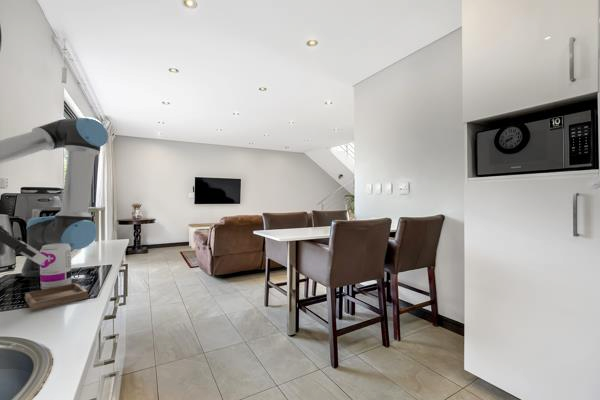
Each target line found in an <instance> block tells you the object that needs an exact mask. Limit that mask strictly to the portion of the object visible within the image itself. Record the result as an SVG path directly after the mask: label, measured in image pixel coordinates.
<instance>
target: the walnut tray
mask: <svg viewBox="0 0 600 400" xmlns="http://www.w3.org/2000/svg"><path fill="white" fill-rule="evenodd" d="M88 293H89V292H88V290H87V289H85V288H84V287H83V286H82V285H80V284H79V283H77V282H73V283H72V282H71V284H67V285H63V286H58V287H53V288H48V289H38V290H33V291H30V292H25V293H24V300H25V302H26V304H27V305H28V306H29V308H30V309H31V311H32V312H36V311H40V310H41V311H42V310H45V309H49V308H51V307H57V306H60V305H64V304H69V303H72V302H78V301H80V300H85V299H88V298H89V297H88V296H89V295H88Z"/></svg>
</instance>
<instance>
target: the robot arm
mask: <svg viewBox="0 0 600 400" xmlns="http://www.w3.org/2000/svg"><path fill="white" fill-rule="evenodd" d="M108 142H109V133H108V130H107V128H106V126H104V124H103V123H102V122H101V121H100V120H98V119H96V118H93V117H86V116H85V117H84V116H82V117H77V118H62V119H59V120H55V121H52V122H50V123H46V124H43V125H40V126H36V127H33V128H32V130H31V131H30V132H25V133H22V134H19V135H14V136H11V137H7V138H2V139H0V165H3V164H5V163H9V162H12V161H15V160H17V159H20V158H21V159H22V158H24V157H27V156H29V155H33V154H35V153H37V152H38V153H39V152H41V151H44V150H45V151H50V152H51V151H54V150H55V149H62V148H64V149H65V150H66V151H67V152H68V154H67V155H68V156H67V162H66V170H65V178H64V186H63V192H62V198H61V199H62V200H61V208H60V211H58V212H57V213H56V214H55V215H52V216H41V217H34V218H29V219H28V220H27V222H26V227H25V228H26V242H24V241H22V238H21V237H20V236H19V237H16V236H14V235H11V233H10V232H9V231H7V230H5V228H4V227H3V226H1V225H0V242H1V243H2V244H3V245H5V246H7V247H9V248H10V249H12V250H14V251H15V252H14V254H15V255H17V256H19V254H20V255H22V256H24V257H25V258H26V259H25V261H24V263H23V266H22V268H21V276H22V277H25V278H40V265H41V264H42V263H43V262H44V261H45V260H46V259H48V257H46V256H44V255H42V254H41V253H40V250H41V248H42V246H43V245H48V244H55V243H68V244H69V245H70V247H71V251H72V250H73V251H74V250H82V249H85V248H87V247H89V246H90V245H91V244H92V243H93V242H94V241H95V240H96V238H97V235H98V228H97V226H96V224H95V223H94V222H92V220H93V215H91V213H90V212H89V208H90V202H91V201H90V199H91V191H92V183H93V177H94V176H93V175H94V168H95V167H94V166H95V159H96V158H95V157H97V155H99V154H100V153H101V147H102V146H105V144H107V143H108Z"/></svg>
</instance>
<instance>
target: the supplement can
mask: <svg viewBox="0 0 600 400" xmlns="http://www.w3.org/2000/svg"><path fill="white" fill-rule="evenodd" d="M40 253H41V254H42V255H44V256H46V257H48V259H46V260H45V261H44V262H43V263H42V264H41V265H40V277H39V279H40V280H39V284H40V286H39V288H40V290H43V289H48V288H53V287H58V286H63V285H67V284H72V250H71V247H70V245H69V244H68V243H55V244H48V245H43V246H42V248H41V250H40Z"/></svg>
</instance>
